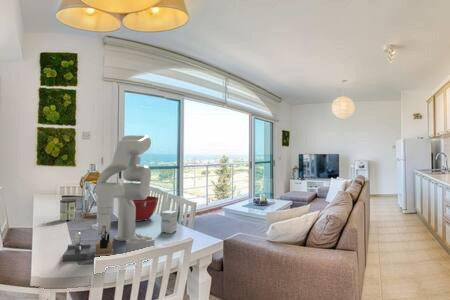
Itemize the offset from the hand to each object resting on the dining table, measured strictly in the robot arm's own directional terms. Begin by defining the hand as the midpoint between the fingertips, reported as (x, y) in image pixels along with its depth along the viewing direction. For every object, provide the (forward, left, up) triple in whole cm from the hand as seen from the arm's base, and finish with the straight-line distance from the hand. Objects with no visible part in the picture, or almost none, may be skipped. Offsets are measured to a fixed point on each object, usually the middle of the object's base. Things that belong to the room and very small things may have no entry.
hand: (104, 244), depth 145 cm
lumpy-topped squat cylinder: (+5, +16, -4) cm, 18 cm away
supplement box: (-32, +34, -4) cm, 47 cm away
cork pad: (0, 0, -4) cm, 4 cm away
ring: (0, 0, -3) cm, 3 cm away
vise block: (+2, -12, -4) cm, 13 cm away
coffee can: (-81, -33, -4) cm, 87 cm away
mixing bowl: (-71, +16, -4) cm, 73 cm away
